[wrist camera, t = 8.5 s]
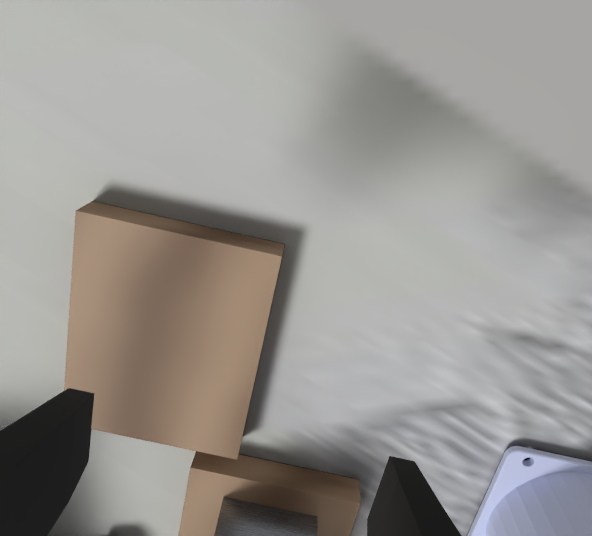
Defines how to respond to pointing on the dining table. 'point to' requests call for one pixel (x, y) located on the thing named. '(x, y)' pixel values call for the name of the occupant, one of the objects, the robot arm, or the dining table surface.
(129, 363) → the stand
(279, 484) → the stand
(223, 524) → the block
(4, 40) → the dining table surface
